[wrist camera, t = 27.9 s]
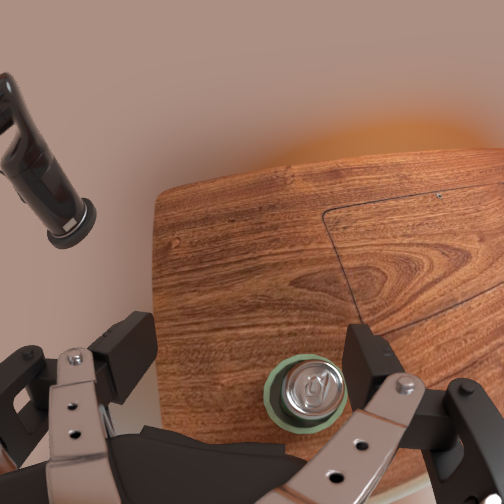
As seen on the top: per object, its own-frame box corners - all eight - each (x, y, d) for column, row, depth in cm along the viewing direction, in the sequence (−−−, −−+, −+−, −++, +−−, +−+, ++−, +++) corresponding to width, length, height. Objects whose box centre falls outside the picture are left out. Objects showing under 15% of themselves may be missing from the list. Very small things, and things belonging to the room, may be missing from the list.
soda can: (326, 379, 31) (350, 358, 21) (320, 422, 28) (344, 422, 18) (282, 376, 32) (285, 352, 21) (275, 418, 29) (276, 417, 19)
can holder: (254, 416, 30) (249, 415, 24) (282, 356, 34) (283, 342, 28) (319, 440, 28) (328, 444, 22) (344, 378, 31) (358, 369, 26)
